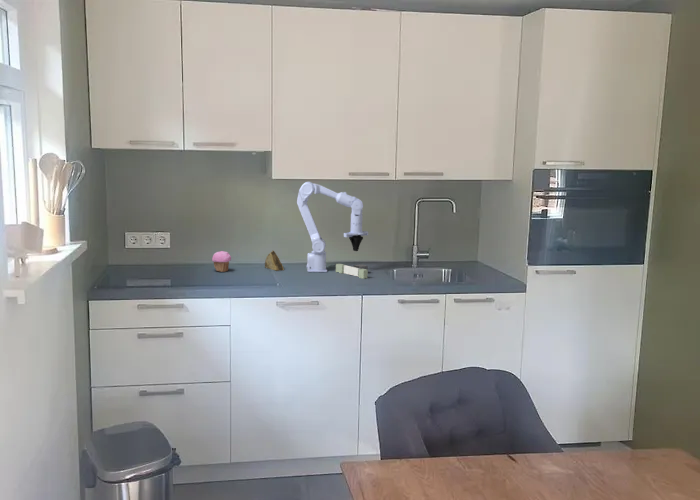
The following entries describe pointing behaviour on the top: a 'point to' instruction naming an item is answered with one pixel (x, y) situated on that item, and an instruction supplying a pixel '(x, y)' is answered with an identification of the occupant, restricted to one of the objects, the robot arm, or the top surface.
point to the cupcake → (221, 261)
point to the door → (351, 270)
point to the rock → (273, 262)
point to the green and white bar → (362, 272)
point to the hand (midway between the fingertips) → (355, 250)
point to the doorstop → (361, 266)
